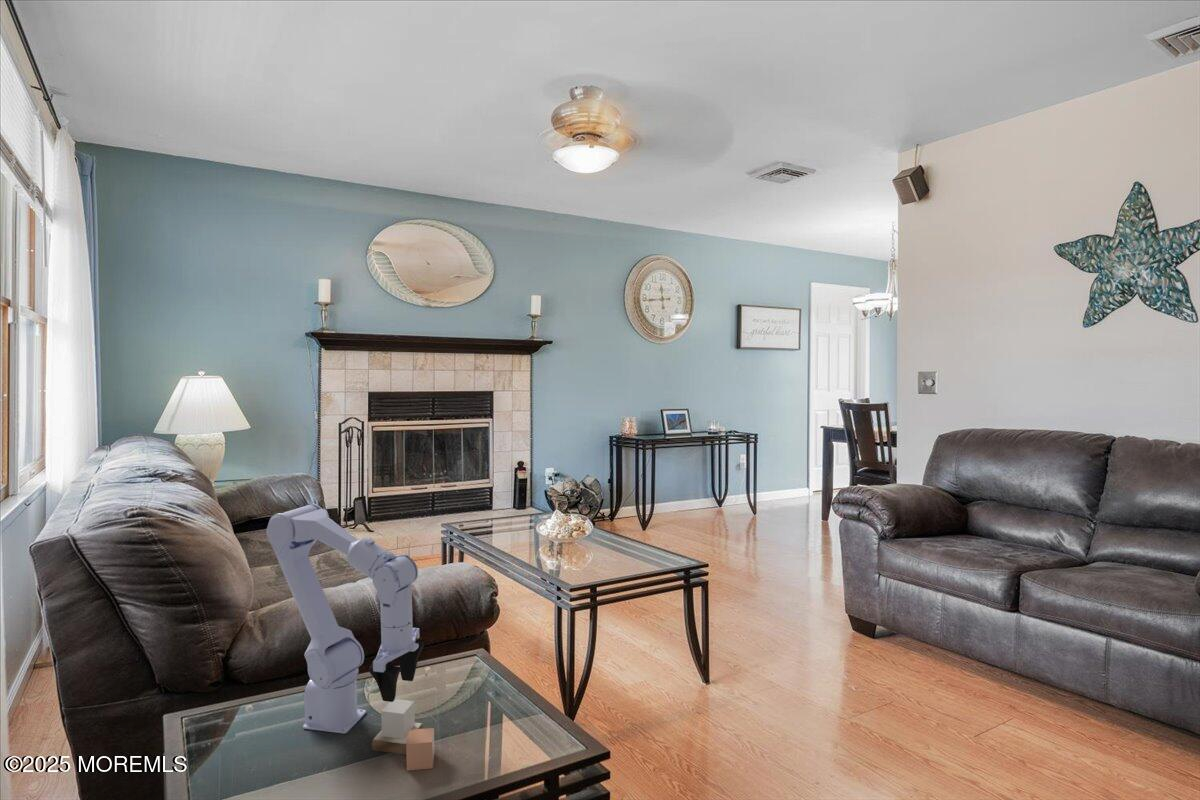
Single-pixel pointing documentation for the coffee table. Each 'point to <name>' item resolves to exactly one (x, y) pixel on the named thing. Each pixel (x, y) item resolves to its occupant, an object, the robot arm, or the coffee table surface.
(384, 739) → the plinth
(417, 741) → the terracotta block
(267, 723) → the coffee table surface
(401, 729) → the stone block
